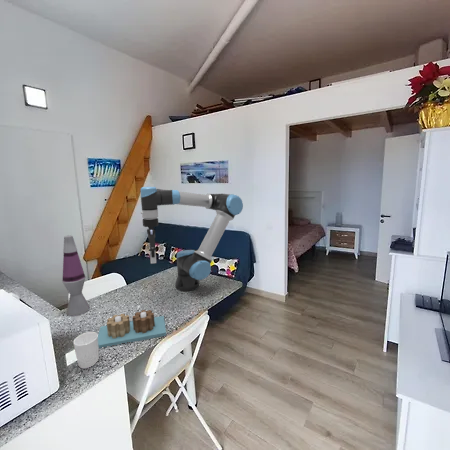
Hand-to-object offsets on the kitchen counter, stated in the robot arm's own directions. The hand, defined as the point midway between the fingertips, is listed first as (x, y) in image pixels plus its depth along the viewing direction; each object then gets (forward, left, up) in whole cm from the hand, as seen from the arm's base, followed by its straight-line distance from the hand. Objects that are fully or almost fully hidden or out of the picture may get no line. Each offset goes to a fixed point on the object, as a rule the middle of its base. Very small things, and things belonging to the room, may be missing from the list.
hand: (153, 258), depth 128 cm
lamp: (+39, -9, -27) cm, 48 cm away
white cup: (+26, +34, -27) cm, 51 cm away
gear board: (+11, +20, -27) cm, 35 cm away
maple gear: (+17, +20, -25) cm, 36 cm away
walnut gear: (+6, +20, -25) cm, 33 cm away
